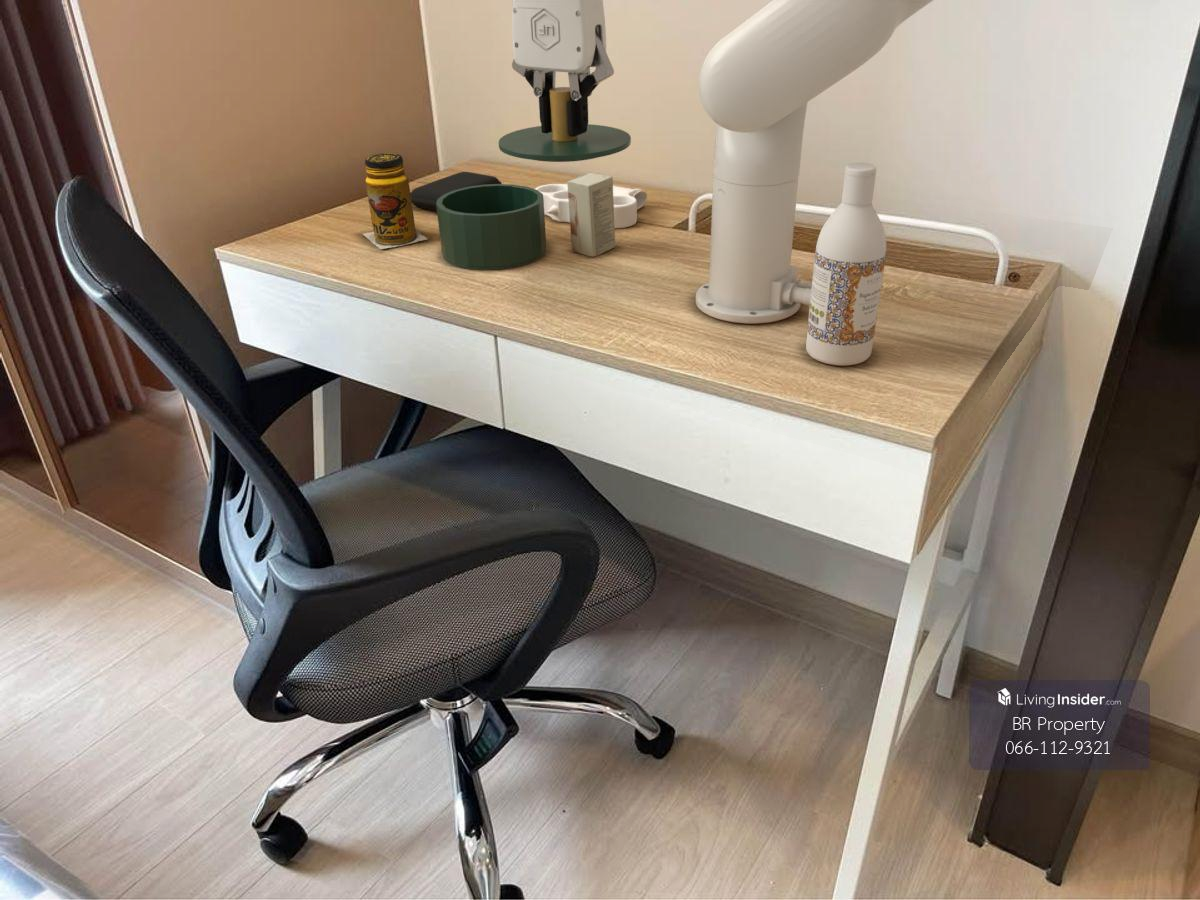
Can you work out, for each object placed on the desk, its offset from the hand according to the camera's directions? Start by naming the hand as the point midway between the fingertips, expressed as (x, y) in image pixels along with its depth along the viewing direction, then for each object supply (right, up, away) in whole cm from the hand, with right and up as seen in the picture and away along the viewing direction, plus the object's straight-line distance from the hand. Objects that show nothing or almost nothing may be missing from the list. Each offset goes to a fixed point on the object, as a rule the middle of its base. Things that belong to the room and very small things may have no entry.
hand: (564, 131), depth 107 cm
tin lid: (0, -1, +1) cm, 2 cm away
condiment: (-26, -6, +28) cm, 39 cm away
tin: (-11, -9, +22) cm, 26 cm away
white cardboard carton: (+3, -9, +22) cm, 24 cm away
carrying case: (-20, +4, +44) cm, 48 cm away
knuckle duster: (+3, -1, +36) cm, 36 cm away
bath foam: (+30, -27, -8) cm, 41 cm away
